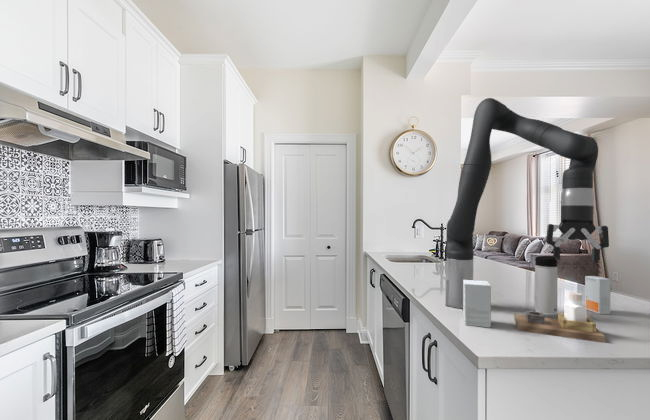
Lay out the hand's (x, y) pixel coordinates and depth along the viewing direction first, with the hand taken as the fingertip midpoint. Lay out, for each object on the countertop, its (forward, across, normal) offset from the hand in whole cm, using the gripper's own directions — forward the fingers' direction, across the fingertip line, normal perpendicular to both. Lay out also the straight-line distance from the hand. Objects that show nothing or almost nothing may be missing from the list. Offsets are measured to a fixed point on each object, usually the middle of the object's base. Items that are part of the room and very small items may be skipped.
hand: (575, 261), depth 96 cm
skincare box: (+20, +12, +30) cm, 38 cm away
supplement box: (+21, -26, -4) cm, 33 cm away
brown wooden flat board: (+20, -5, 0) cm, 21 cm away
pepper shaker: (+19, 0, 0) cm, 19 cm away
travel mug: (+21, -5, +15) cm, 26 cm away
